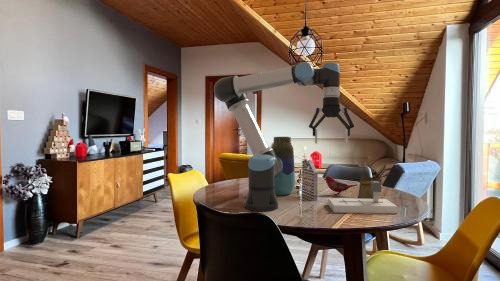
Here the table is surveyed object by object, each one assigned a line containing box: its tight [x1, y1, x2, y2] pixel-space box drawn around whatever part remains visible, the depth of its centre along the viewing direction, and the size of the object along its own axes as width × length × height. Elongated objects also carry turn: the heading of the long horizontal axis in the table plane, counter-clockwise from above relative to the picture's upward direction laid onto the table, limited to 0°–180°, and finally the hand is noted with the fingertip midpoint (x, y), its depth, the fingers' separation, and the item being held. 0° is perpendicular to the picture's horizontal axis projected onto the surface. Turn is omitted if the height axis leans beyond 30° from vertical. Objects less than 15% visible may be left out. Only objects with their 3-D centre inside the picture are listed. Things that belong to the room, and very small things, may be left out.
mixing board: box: [327, 197, 398, 214], centre depth 141 cm, size 26×14×3 cm, turn 85°
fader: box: [371, 181, 382, 202], centre depth 140 cm, size 3×5×9 cm, turn 175°
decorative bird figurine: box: [323, 175, 358, 196], centre depth 170 cm, size 3×18×10 cm, turn 68°
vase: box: [270, 136, 296, 196], centre depth 174 cm, size 14×14×31 cm
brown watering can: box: [356, 164, 387, 199], centre depth 158 cm, size 9×14×18 cm, turn 76°
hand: (331, 143), depth 147 cm, fingers open, 13 cm apart
